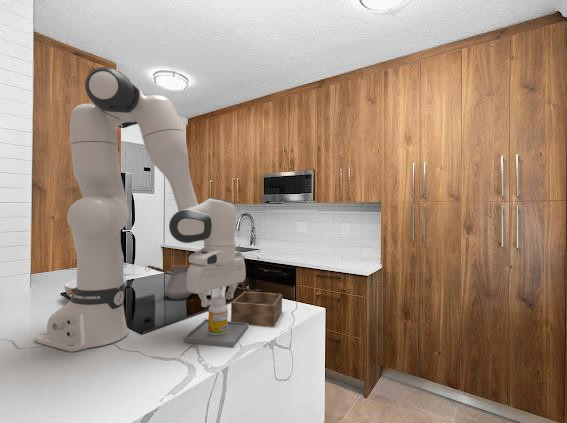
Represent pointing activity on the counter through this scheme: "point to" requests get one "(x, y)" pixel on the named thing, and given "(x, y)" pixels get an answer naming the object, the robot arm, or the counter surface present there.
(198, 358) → the counter surface
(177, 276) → the coffee pot
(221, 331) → the supplement bottle
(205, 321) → the grey tray
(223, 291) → the beer glass
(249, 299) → the walnut box
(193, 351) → the counter surface
